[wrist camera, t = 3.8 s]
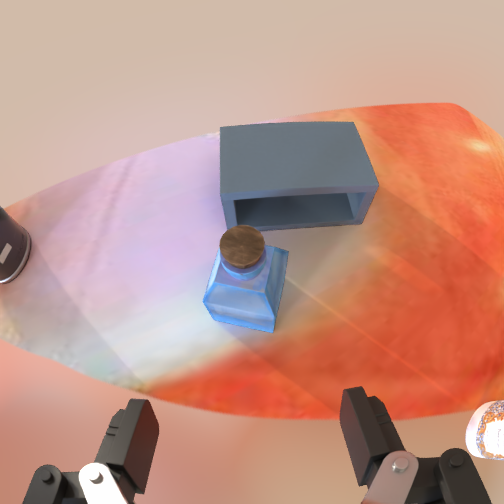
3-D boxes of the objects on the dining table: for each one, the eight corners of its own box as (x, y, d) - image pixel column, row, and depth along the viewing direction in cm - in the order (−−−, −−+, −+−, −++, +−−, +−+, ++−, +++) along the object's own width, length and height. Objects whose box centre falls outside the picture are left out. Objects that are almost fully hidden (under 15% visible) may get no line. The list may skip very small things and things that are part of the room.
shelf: (228, 233, 36) (219, 193, 29) (226, 169, 41) (219, 126, 34) (361, 224, 36) (379, 185, 29) (343, 162, 41) (353, 121, 34)
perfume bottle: (284, 277, 33) (293, 215, 23) (272, 332, 31) (276, 294, 20) (229, 266, 34) (212, 201, 24) (213, 319, 32) (186, 275, 21)
